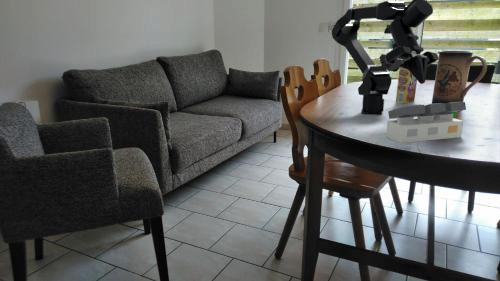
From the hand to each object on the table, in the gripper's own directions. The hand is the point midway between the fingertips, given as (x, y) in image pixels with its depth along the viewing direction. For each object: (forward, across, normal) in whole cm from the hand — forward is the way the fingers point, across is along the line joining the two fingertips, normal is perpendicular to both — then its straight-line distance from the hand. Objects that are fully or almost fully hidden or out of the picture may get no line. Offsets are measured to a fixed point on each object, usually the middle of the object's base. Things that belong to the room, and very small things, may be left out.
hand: (422, 83), depth 105 cm
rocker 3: (+11, +6, +6) cm, 14 cm away
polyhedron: (+10, -14, -5) cm, 18 cm away
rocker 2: (+11, +11, +4) cm, 16 cm away
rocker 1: (+10, +17, +2) cm, 20 cm away
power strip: (+16, +10, 0) cm, 19 cm away
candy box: (-8, -33, -25) cm, 42 cm away
